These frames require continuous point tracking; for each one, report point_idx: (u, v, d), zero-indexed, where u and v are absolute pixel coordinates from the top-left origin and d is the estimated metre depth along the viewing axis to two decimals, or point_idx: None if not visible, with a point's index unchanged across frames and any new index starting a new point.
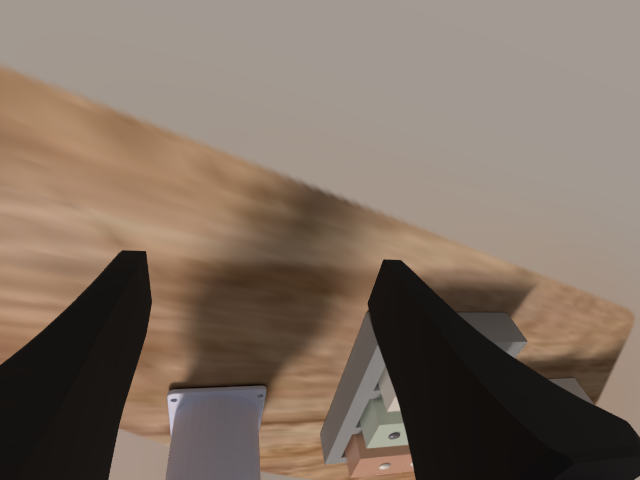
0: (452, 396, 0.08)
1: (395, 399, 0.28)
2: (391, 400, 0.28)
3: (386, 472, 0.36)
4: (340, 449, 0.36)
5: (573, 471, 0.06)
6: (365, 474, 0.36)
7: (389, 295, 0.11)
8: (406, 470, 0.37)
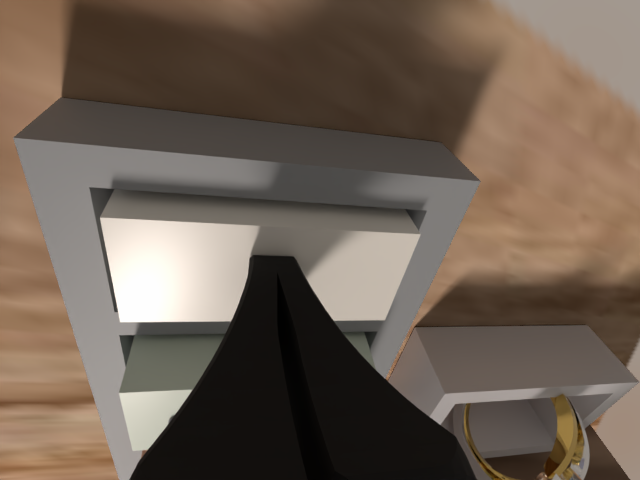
0: (298, 406, 0.08)
1: (117, 282, 0.11)
2: (115, 287, 0.11)
3: None
4: (132, 453, 0.18)
5: None
6: None
7: None
8: None
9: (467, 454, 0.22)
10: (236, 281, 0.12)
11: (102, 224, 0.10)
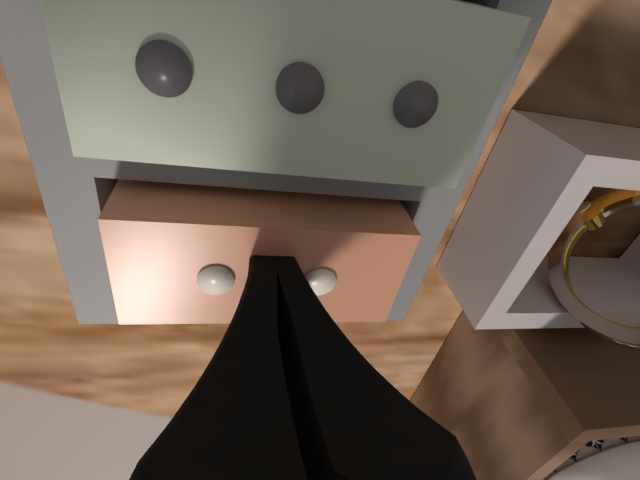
0: (299, 406, 0.08)
1: None
2: None
3: None
4: (93, 259, 0.12)
5: None
6: (166, 315, 0.12)
7: None
8: None
9: (578, 308, 0.16)
10: None
11: None
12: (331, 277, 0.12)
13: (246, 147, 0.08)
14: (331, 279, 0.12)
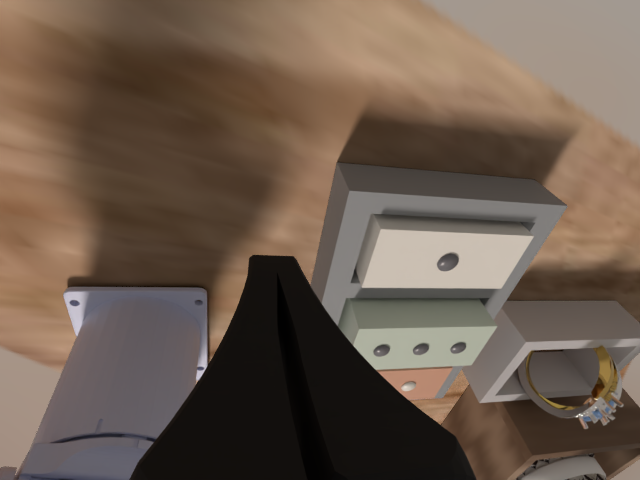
0: (298, 406, 0.08)
1: (371, 264, 0.20)
2: (367, 267, 0.20)
3: None
4: None
5: None
6: None
7: None
8: None
9: (531, 392, 0.31)
10: (429, 264, 0.21)
11: (380, 232, 0.19)
12: (413, 384, 0.28)
13: (399, 363, 0.24)
14: (413, 384, 0.28)
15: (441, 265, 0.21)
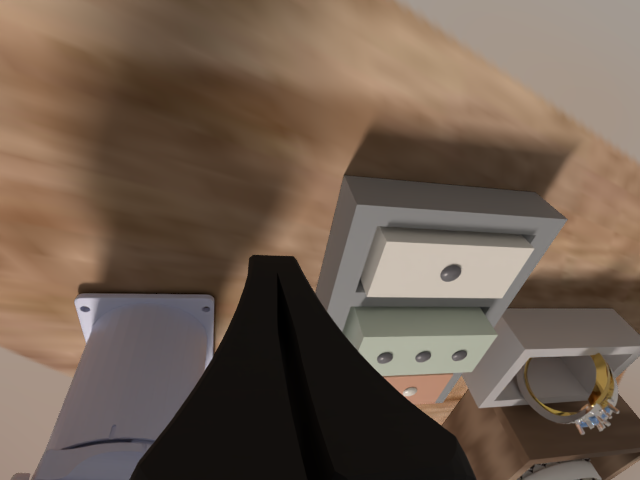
0: (298, 406, 0.08)
1: (377, 274, 0.20)
2: (372, 277, 0.21)
3: None
4: None
5: None
6: None
7: None
8: None
9: (529, 398, 0.32)
10: (433, 274, 0.21)
11: (386, 244, 0.19)
12: (414, 389, 0.29)
13: (401, 370, 0.25)
14: (414, 390, 0.29)
15: (444, 275, 0.21)
